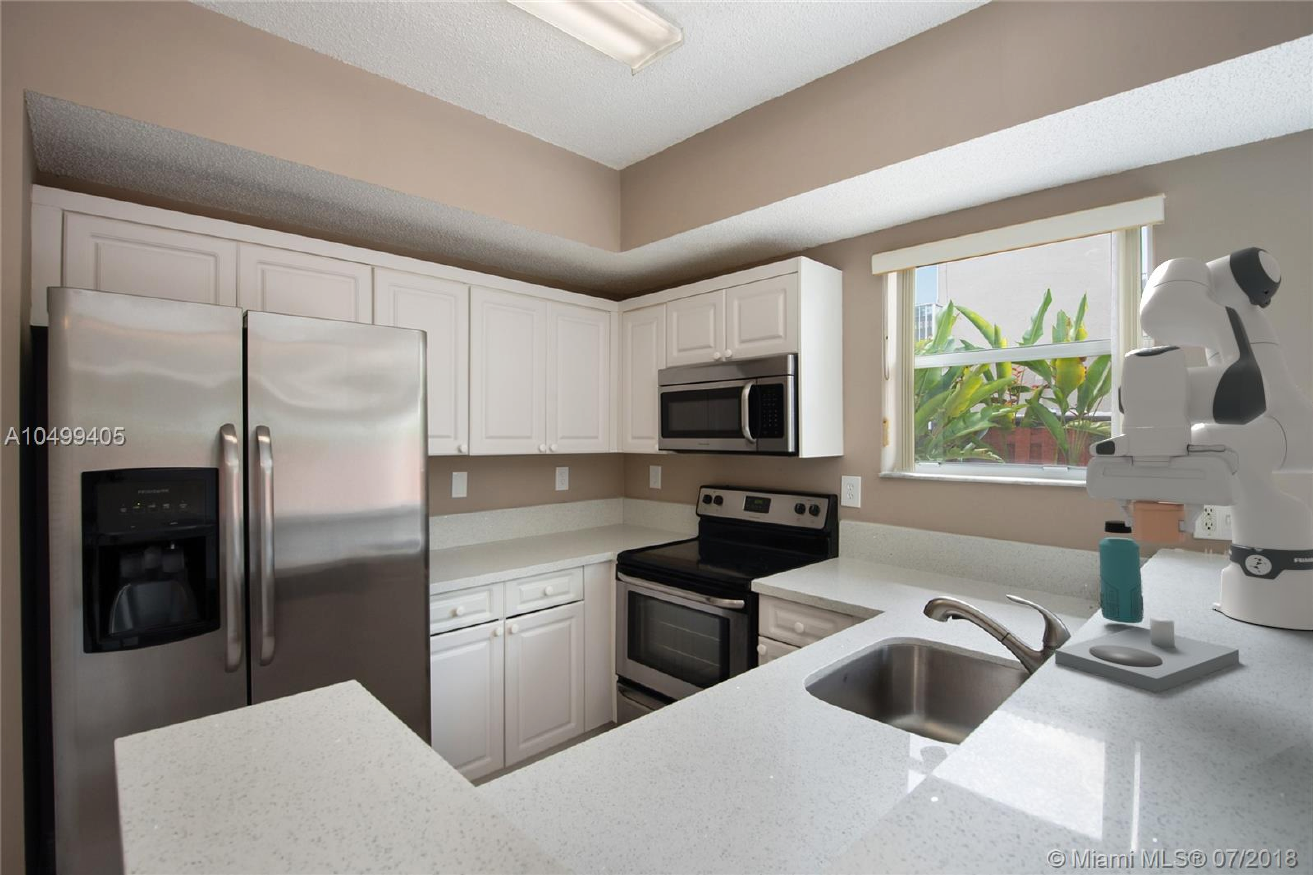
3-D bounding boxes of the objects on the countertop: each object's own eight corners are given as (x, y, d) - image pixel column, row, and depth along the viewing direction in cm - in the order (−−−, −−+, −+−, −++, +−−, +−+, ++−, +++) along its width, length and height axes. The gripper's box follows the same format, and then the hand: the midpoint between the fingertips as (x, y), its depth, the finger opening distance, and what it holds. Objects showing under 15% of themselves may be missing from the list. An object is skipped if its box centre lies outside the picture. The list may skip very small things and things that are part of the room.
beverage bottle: (1152, 632, 112) (1148, 523, 112) (1111, 630, 113) (1107, 523, 113) (1132, 621, 118) (1128, 518, 118) (1093, 620, 120) (1090, 518, 120)
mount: (1137, 637, 109) (1136, 604, 109) (1239, 662, 96) (1237, 624, 96) (1055, 662, 98) (1054, 624, 99) (1157, 693, 86) (1155, 650, 86)
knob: (1192, 540, 99) (1190, 501, 99) (1175, 544, 95) (1173, 504, 96) (1144, 535, 104) (1143, 499, 104) (1127, 539, 101) (1125, 502, 101)
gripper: (1248, 443, 92) (1251, 535, 92) (1100, 444, 110) (1102, 521, 110) (1228, 445, 89) (1231, 539, 89) (1079, 445, 108) (1082, 524, 107)
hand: (1158, 529), depth 100 cm, fingers closed on knob, 6 cm apart
